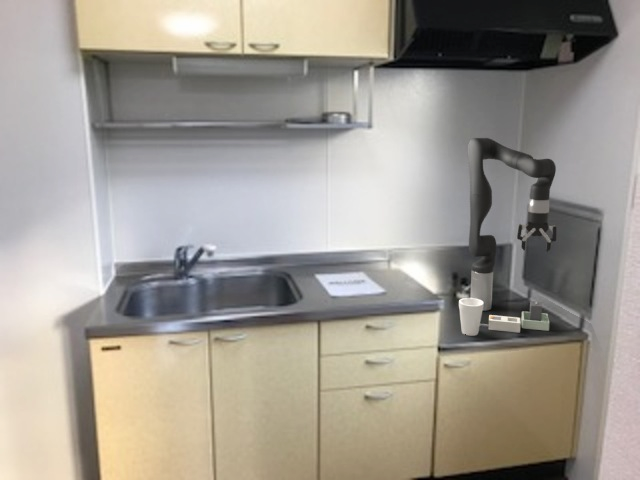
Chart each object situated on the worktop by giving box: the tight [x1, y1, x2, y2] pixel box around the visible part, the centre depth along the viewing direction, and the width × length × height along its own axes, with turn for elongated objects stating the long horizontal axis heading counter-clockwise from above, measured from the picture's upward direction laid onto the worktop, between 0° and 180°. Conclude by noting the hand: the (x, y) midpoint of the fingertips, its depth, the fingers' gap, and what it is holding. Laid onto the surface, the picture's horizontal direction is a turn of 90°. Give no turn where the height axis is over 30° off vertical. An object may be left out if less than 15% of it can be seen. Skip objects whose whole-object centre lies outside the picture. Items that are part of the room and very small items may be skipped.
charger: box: [529, 300, 543, 321], centre depth 219 cm, size 6×4×9 cm
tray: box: [520, 311, 550, 332], centre depth 220 cm, size 10×10×4 cm
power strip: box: [479, 314, 522, 334], centre depth 218 cm, size 6×18×4 cm, turn 72°
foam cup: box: [458, 297, 483, 337], centre depth 213 cm, size 10×9×13 cm
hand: (535, 250), depth 212 cm, fingers open, 8 cm apart
